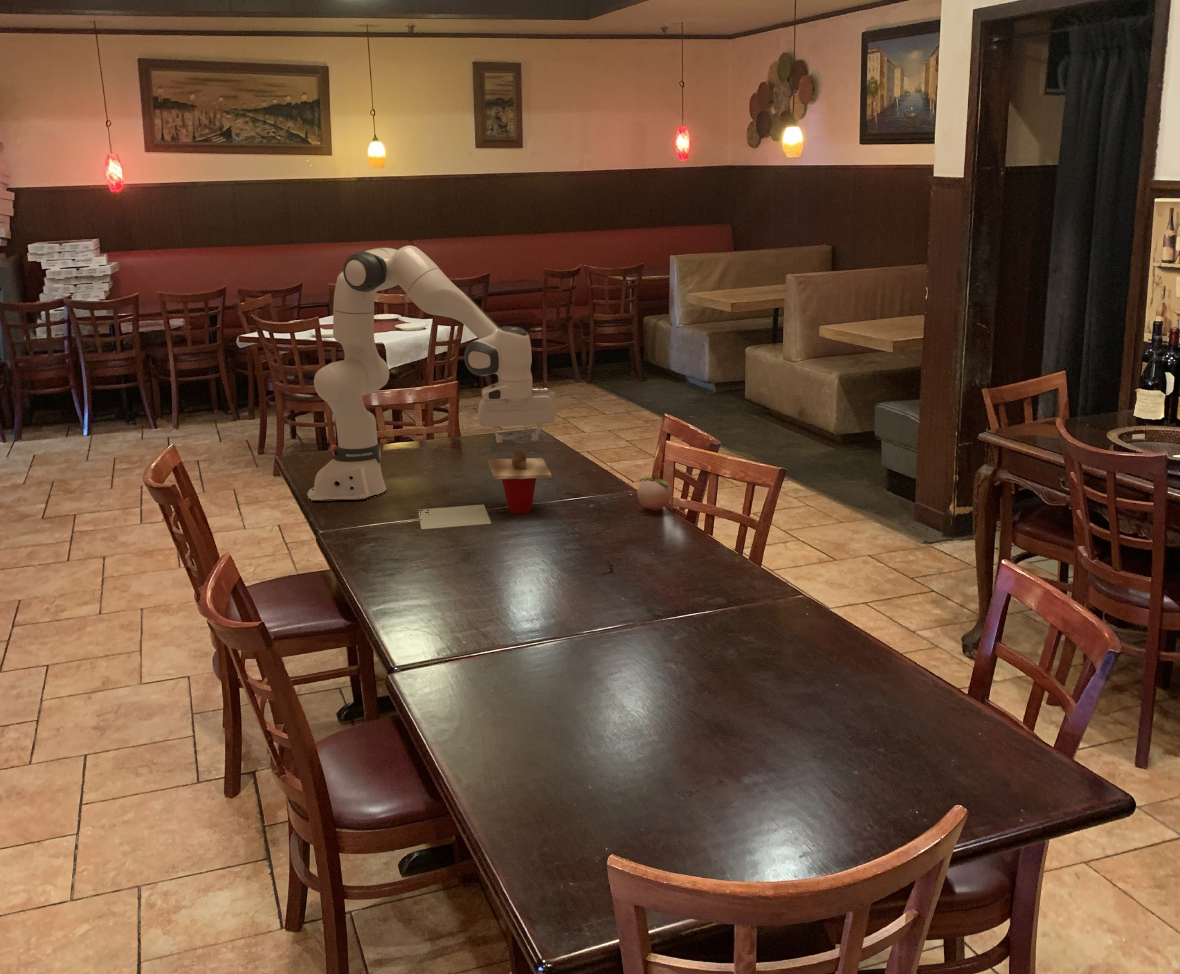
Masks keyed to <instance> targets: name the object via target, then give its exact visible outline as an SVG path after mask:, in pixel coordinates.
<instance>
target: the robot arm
mask: <svg viewBox="0 0 1180 974" xmlns="http://www.w3.org/2000/svg"><path fill="white" fill-rule="evenodd" d="M342 269H343V270H342V271H341V272H340V273H339V274H338V276H337V277H336V278H337V279H336V283H335V287H334V295H333V309H332V310H333V311H332V317H333V318H332V324H333V325H332V334H333V338H334V339H335V341H336V342H337V343H338V344H340V345H341V346H342V349H343V353H344V359H343V360H338V361H333V362H330V363H328V364H326V365H324V366H322V367H321V368H320V369H318V370H317V371H316V372H315V375H314V378H313V386H314V389H315V392H316V393H317V395H318V396H319V398H321V399H322V400H323V401H324V402H326V403H327V405H328V406H329V408H330V410H331V412H332V414H333V417H334V421H335V425H336V433H337V434H336V435H337V443H338V444H337V445H336V444H332V445H331V446H330V452H331V458H332V459H331V460H330V461H329V462H327V463H326V465H324V466H323V467H322V468H321V469H319V471H317V473H316V475H315V477H314V486H313V487H311V488H310V489H309V490H308V491H307V495H306V496H308V497H307V499H308V498H310V499H311V500H324V499H326V500H327V499H357V498H358V499H359V498H360V499H361V498H366V497H368V496H372V495H375V494H379V493H381V492H384V491H385V490H386V489H387V490H388V488H387V485H386V482H385V481H384V477H383V473H382V472H383V471H382V468H381V457H382V456H381V447H380V443H379V442H378V433H377V432H378V431H377V420H376V416H375V415H374V414H373V413H372V412H370V411H369V410H367V408H366V406H365V404H364V400H363V396H367V395H370V394H372V393H373V394H374V393H375V392H377V391H378V390H381V389H382V388H383V387H385V386H386V385H387V383H388V381H389V380H390V368H389V366H388V364H387V362H386V361H385V360H384V358H382V357H381V356H380V354H379V351H378V349H377V345H376V341H375V296H376V293H377V292H380V291H385V290H387V289H391V288H397V287H400V288H401V289H402V290H403V291H404V293H405V294H406V295H407V296H408V298H409V299H410V300H411V301H412V302H413V304H415V306H416V307H417V308H419V309H420V310H421V311H422V312H424V313H426V314H428V315H433V316H441V317H445V318H451V319H453V320H456V321H458V322H460V323H462V324H463V325H464V326H465V327H466V328H468V330H469V331H470V332H471V333H472V334H473V335H474V336H475V337H476V338H477V339H476V340H473V341H472V342H470V343H468V344H467V346H466V347H465V350H464V355H463V359H464V364H465V366H466V368H467V369H468V371H469V372H470V373H472V374H473V375H475V376H480V377H485V376H489V375H493V374H494V375H497V379H498V382H496V383H493V384H490V385H487V386H485V387H483V388H481V396H482V398H480V400H479V402H478V410H477V422H478V425H479V426H480V427H482V428H488V427H491V430H492V432H493V434H494V435H495V437H496V438H495V440H496V443H497V444H501V443H503V435H502V434H499V433H498V432H497V431H498V430H499V429H498V427H507V426H510V427H511V426H525V425H527V426H529V425H535V427H536V429H535V432H532V433H531V440H532V442H534V441H536V442H537V441H539V434H540V433H541V431H542V429H543V425H545V424H546V425H547V424H553V423H554V422H555V421H556V413H555V405H554V404H555V402H556V393H555V391H554V390H553V389H550V388H549V387H545V388H533V375H532V371H531V367H532V363H533V362H532V361H533V359H532V358H533V356H532V354H533V353H532V344H531V339H530V335H529V333H528V331H527V330H526V329H524V328H522V327H518V326H510V325H508V326H507V325H505V326H501V327H500V326H499V325H498V323H497V322H496V321H494V319H492V318H491V317H490V316H489V315H488V314H487V313H486V312H485V311H484V310H483V309H482V308H481V306H479V304H477V303H476V302H475V301H474V300H473V299H472V298H471V297H470V296H468V295H467V294H466V293H465V292H464V291H462V290H461V289H460V288H459V287H458V286H456V285H455V283H453V282H452V280H450V278H449V277H448V276H447V275H446V274H445V273H444V272H443V270H441V268H440V267H439V266H438V265H437V264H436V262H434V261H433V259H431V258H430V257H429V256H428V255H427V254H426V253H424V252H423V250H421V249H419V248H418V247H417V246H414V245H405V246H402V247H401V248H398V247H393V246H391V247H376V248H373V249H368V250H363V251H358V252H355V253H352V254H351V255H349V256H348V257H347V258H346V260H345V261H344V264H343V268H342ZM312 489H314V490H312Z"/></svg>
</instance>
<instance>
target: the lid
mask: <svg viewBox="0 0 1180 974" xmlns="http://www.w3.org/2000/svg"><path fill="white" fill-rule="evenodd" d="M511 453H512V458H492V459H491V458H490V459H489V458H487V463H488V464H487V465H488V467H489V469H490V471H491V474H492V477H493V479H494V480H502V479H519V478H537V479H546V478H547V479H552V478H553V477H552V473H551V471H550V469H549V468H548V465H547V463H546V462H545V460H544V457H537V458H536V457H532V458H527V454H526V453H527V452H525V450H524V449H512V452H511Z"/></svg>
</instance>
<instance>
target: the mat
mask: <svg viewBox="0 0 1180 974" xmlns="http://www.w3.org/2000/svg"><path fill="white" fill-rule="evenodd" d="M421 509H422V508H421ZM422 510H423V511H420V512H421V513H420V512H419V511H418V512H419V513H418V518H419V523H420V529H421V530H428V529H429V530H430V529H431V530H432V529H443V528H444V529H445V528H454V527H464V526H465V527H467V526H478V525H489V524H492V521H491V519H490V516H489V514H488V511H487V509H486V506H485V504H475V505H474V504H472V505H460V506H448V507H435V508H424V509H422ZM427 510H429V511H427ZM425 512H429V513H425ZM420 514H421V515H420ZM428 514H429V515H428ZM420 519H422V520H420Z"/></svg>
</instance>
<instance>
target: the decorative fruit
mask: <svg viewBox="0 0 1180 974" xmlns="http://www.w3.org/2000/svg"><path fill="white" fill-rule="evenodd" d="M655 477H656V476H655V475H654V474H653V477H649V476H648V477H641V478H640V479H639V482H641V483H640V484H639V485H638V487H637V490H636V494H637V498H638V501H639V503H640V504H641V506H643V507H644V508H646V509H648V510H650V511H652V510H653V511H652V512H656V511H659V510H661V509H663V508H664V507H666V506H667V505H668V504H669V503H670V501H671V498H672V495H673V494H672V493H673V492H672V488H671V485H670V484H669V483H668V482H667V481H666V480H664V479H658V478H657V479H655Z"/></svg>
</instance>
